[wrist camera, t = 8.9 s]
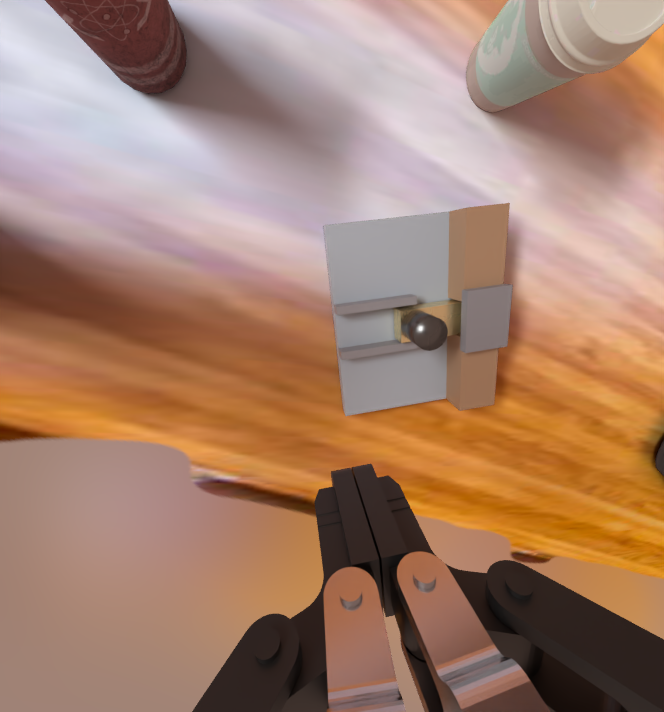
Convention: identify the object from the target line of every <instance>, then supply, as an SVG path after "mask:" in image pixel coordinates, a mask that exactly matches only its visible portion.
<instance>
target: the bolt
mask: <svg viewBox="0 0 664 712" xmlns="http://www.w3.org/2000/svg"><path fill="white" fill-rule="evenodd" d="M461 304H462V302H461V301H458V300H454V299H451V300H444V301H437V302H430V303H423V304H416V305H409V306H401V307H394V308H393V311H394V334H395V338H396V339H397V340H398V341H399V342H401V343H405V342H411V341H412V342H413V343H414V344H416V345H417V346H419V347H420V348H421V349H423V350H426V351H432V350H435V349H438V348H439V347H440V346H442V345H443V343H444V342H445V340H446V338H447V336H451V335H457V334H461Z"/></svg>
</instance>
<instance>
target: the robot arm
mask: <svg viewBox="0 0 664 712" xmlns="http://www.w3.org/2000/svg"><path fill="white" fill-rule="evenodd" d="M331 478H332V485H333V487H329V488H324V489H319V491H318V494H317V497H316V500H315V509H316V516H317V524H318V532H319V540H320V548H321V556H322V564H323V571H324V580H323V585H322V589H321V592H320V593H319V595H318V597H317V598H316V599H315V601H314V602H313V603H312V604H311V605H310V606H309V607H307V608H306V609H305V610H303V611H302V612H300V613H299V614H297V615H295V616H294V617H292V618H291V619H289V618H287V617H286V616H284V615H281V614H269V615H266V616H263V617H262V618H260V619H258V620H257V621H256V622H254V623H253V624H252V625H251V626H250V628H249V629H248V630H247V631H246V633H245V634H244V636H243V637H242V639H241V640H240V642H239V643H238V645H237V646H236V648H235V649H234V650H233V652H232V654H231V655H230V656H229V658H228V659H227V661H226V663H225V664H224V665H223V667H222V668H221V670H220V671H219V673H218V674H217V676H216V677H215V679H214V680H213V682H212V683H211V685H210V686H209V688H208V689H207V691H206V692H205V694H204V695H203V697H202V698H201V699H200V701H199V702H198V704H197V705H196V707H195V709H194V710H193V711H192V712H406V711H405V707H404V703H403V699H402V696H401V694H400V692H399V689H398V684H397V680H396V675H395V671H394V665H393V661H392V655H391V651H390V646H389V641H388V637H387V632H386V626H385V622H384V617H383V616H384V615H383V608H384V612H385V615H386V617H389V616H393V615H395V618H396V621H397V624H398V627H399V630H400V639H401V640H400V641H401V647H402V651H403V654H404V656H405V659H406V662H407V664H408V667H409V670H410V673H411V675H412V678H413V681H414V684H415V686H416V689H417V692H418V695H419V697H420V700H421V703H422V706H423V708H424V711H425V712H664V640H663V639H662V638H660V637H658V636H656V635H654V634H652V633H650V632H649V631H647V630H645V629H643V628H641V627H639V626H637V625H635V624H633V623H632V622H630V621H628V620H626V619H624V618H622V617H620V616H619V615H617V614H615V613H613V612H611V611H609V610H607V609H606V608H604V607H602V606H600V605H598V604H596V603H594V602H593V601H591V600H589V599H587V598H585V597H583V596H581V595H579V594H577V593H576V592H574V591H572V590H570V589H568V588H566V587H565V586H563V585H561V584H559V583H557V582H555V581H553V580H551V579H550V578H548V577H546V576H544V575H542V574H540V573H538V572H536V571H535V570H533V569H531V568H529V567H527V566H525V565H523V564H521V563H518V562H515V561H510V560H509V561H508V560H503V561H498V562H496V563H494V564H492V565H491V566H490V568H489V569H488V572H487V573H478V572H469V571H462V570H458V569H455V568H452V567H450V566H448V565H446V564H445V563H444V562H443V561H442V560H441V559H439V558H438V557H437V556H436V555H435V554H434V553H433V551H432V550H431V548H430V546H429V544H428V542H427V540H426V538H425V536H424V534H423V532H422V530H421V528H420V527H419V524H418V522H417V520H416V518H415V516H414V514H413V512H412V510H411V509H410V506H409V504H408V502H407V500H406V499H405V496H404V494H403V492H402V490H401V488H400V486H399V484H398V483H396V482H395V481H394V480H393V479H392V478H391V477H389V476H384V477H379V478H377V476H376V473H375V471H374V469H373V466H372V464H367V465H362V466H356V467H352V468H347V469H341V470H336V471H331Z"/></svg>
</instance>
